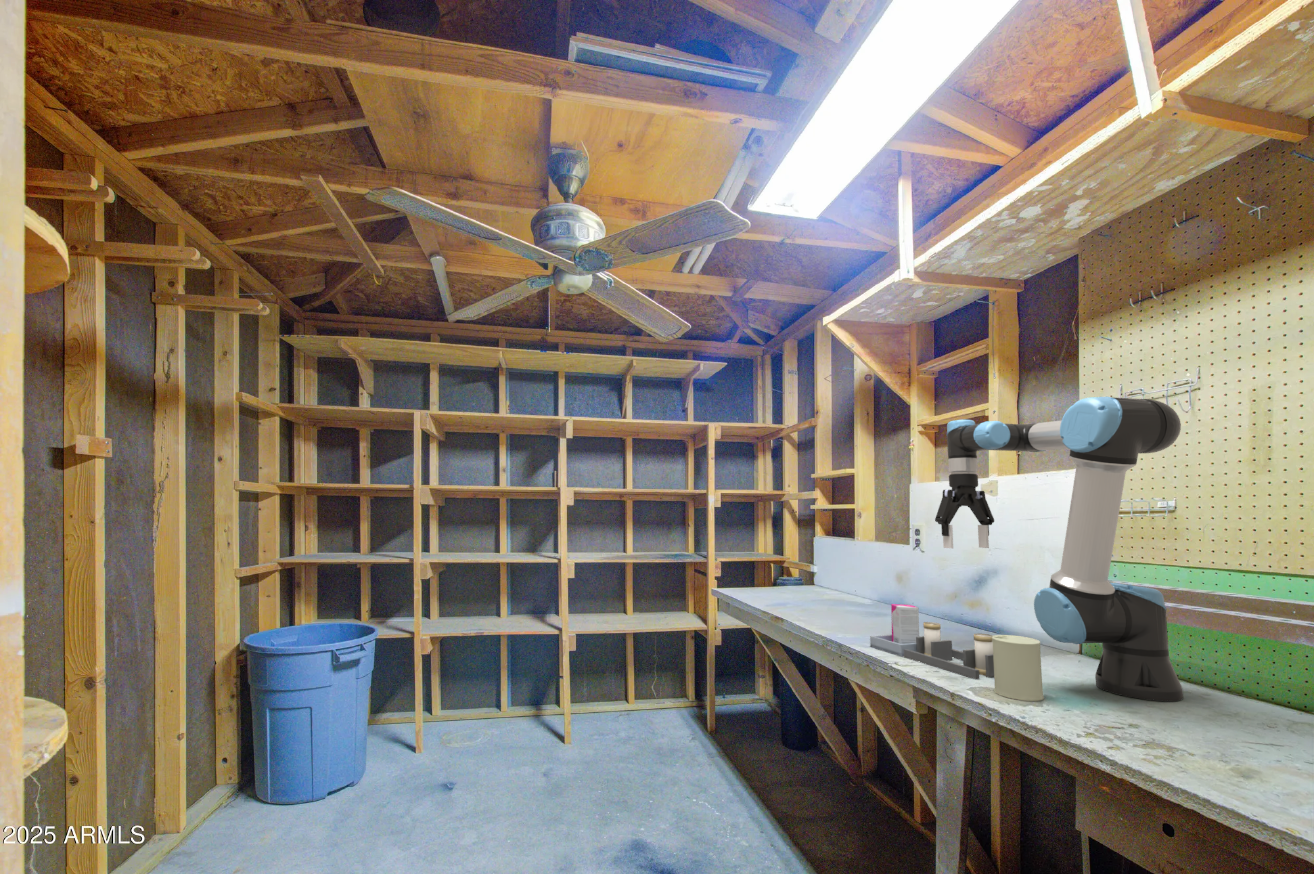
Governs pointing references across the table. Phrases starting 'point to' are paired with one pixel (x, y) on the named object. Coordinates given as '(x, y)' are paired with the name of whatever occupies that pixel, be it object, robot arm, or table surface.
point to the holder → (949, 658)
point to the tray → (890, 645)
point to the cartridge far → (931, 635)
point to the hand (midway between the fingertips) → (966, 548)
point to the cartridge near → (982, 651)
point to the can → (1017, 667)
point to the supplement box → (904, 623)
